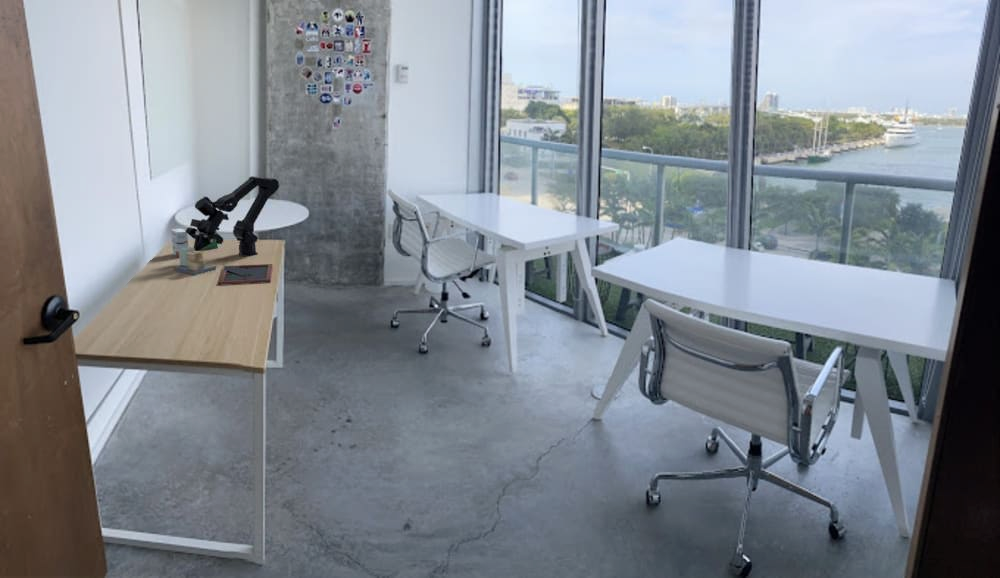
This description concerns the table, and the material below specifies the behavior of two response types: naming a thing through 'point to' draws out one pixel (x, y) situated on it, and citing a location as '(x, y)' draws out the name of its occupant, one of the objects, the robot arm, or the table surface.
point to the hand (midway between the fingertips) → (194, 251)
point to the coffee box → (213, 245)
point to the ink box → (179, 240)
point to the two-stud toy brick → (184, 255)
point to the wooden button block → (194, 260)
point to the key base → (194, 272)
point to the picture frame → (246, 274)
